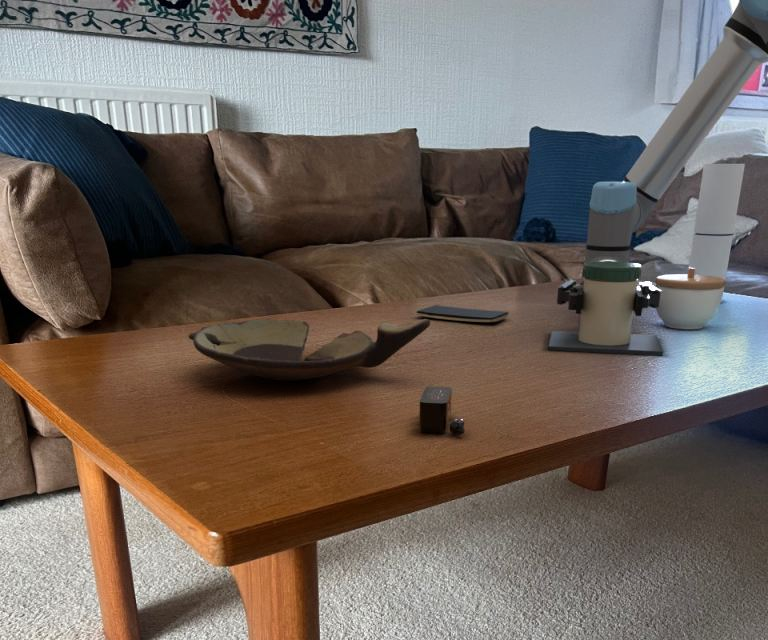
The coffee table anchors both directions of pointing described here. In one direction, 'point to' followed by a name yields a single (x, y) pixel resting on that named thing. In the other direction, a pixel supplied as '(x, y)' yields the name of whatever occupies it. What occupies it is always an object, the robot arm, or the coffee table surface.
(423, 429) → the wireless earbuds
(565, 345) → the mat
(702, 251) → the cylindrical container
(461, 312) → the smartphone
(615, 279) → the lid
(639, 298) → the robot arm
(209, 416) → the coffee table surface
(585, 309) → the jar
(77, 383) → the coffee table surface
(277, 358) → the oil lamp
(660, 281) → the trinket box
